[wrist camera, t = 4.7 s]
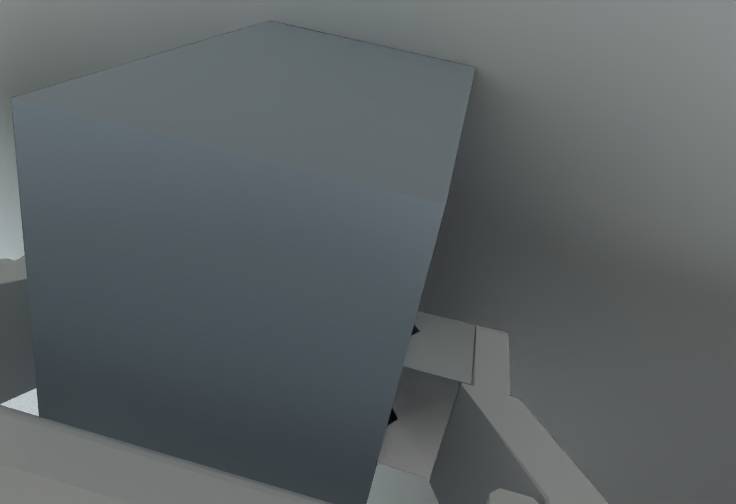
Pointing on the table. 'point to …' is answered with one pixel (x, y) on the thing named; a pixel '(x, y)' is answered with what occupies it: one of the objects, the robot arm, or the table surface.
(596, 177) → the table surface
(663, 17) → the table surface
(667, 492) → the table surface
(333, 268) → the block
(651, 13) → the table surface
